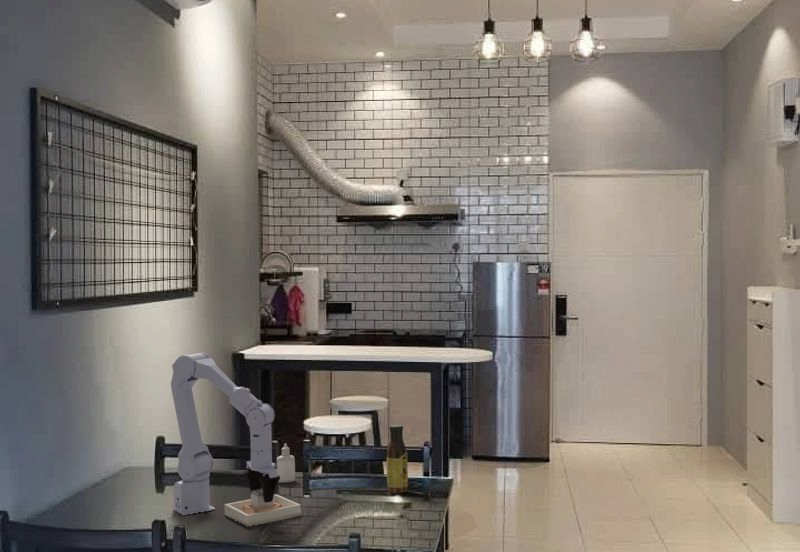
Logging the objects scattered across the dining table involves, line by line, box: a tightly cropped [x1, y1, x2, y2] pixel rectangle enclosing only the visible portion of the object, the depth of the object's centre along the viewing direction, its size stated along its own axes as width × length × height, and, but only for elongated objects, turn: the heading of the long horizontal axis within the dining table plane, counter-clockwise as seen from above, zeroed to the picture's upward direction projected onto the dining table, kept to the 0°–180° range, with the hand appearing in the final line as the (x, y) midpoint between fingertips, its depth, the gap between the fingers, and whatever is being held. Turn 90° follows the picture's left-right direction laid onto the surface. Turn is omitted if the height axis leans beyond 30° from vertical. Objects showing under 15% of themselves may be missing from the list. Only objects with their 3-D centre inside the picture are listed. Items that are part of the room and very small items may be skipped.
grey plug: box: [250, 488, 274, 510], centre depth 230 cm, size 5×4×6 cm
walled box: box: [224, 493, 302, 527], centre depth 230 cm, size 16×14×3 cm
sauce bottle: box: [386, 424, 409, 495], centre depth 252 cm, size 7×6×20 cm
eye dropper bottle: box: [276, 443, 296, 484], centre depth 267 cm, size 4×6×12 cm
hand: (262, 498), depth 230 cm, fingers open, 7 cm apart
